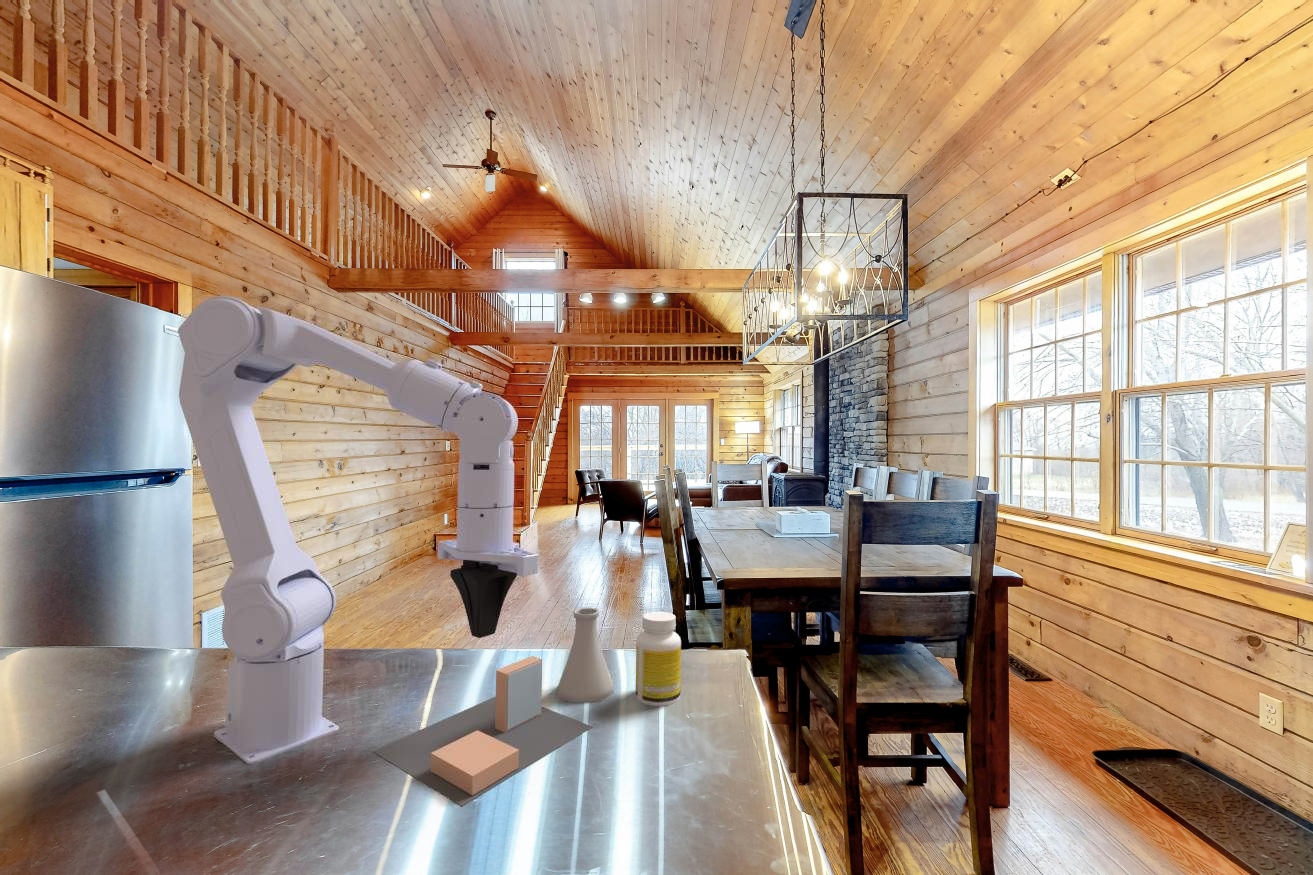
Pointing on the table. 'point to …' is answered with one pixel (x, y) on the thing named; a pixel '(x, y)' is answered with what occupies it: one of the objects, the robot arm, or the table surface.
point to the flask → (585, 663)
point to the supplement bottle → (658, 660)
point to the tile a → (474, 761)
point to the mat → (527, 738)
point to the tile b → (518, 693)
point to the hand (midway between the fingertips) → (483, 634)
